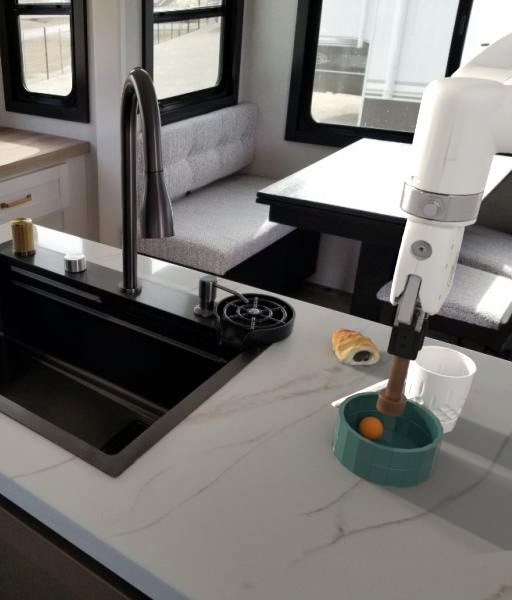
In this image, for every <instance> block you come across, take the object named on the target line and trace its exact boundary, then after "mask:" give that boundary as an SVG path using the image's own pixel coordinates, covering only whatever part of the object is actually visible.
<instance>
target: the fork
mask: <svg viewBox="0 0 512 600" xmlns="http://www.w3.org/2000/svg"><path fill="white" fill-rule="evenodd" d="M408 369H409V367H408ZM407 373H408V371H407ZM388 380H389V378H387V379H384V380H382V381H379V382H377V383H375V384H372V385H370V386H368V387H365V388H363V389H361V390H358V391H356V392H354V393H352V394H349V395H347V396H344V397H342V398H339V399H337V400H335V401H333V402H331V406H333V408H337V407H340V404H341V403H342V402H343V401H344V400H345V399H346V398H347V397H349V396H352V395H354V394H357V393H362V392H379V391H381V390H383V389H387V384H388ZM406 380H407V378H406V379H405V383H404V384H406Z"/></svg>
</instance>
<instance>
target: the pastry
mask: <svg viewBox="0 0 512 600" xmlns="http://www.w3.org/2000/svg"><path fill="white" fill-rule="evenodd" d="M331 343H332V350H333V352H334V354H335V356H336V357H337V358H338V360H339V361H340V363H341V364H343V365H350V366H354V365H366V366H369V365H370V366H372V365H376V363H378V362H379V360H380V358H381V355H380V353H379V349H378V347H377V346H376V345H375V343H374V342H373V341H372V339H371V337H368V336H364V335H363V334H362V333H361V332H359V331H356V330H354V329H347V328H339V329H337V330H335V331H333V333H332V339H331Z"/></svg>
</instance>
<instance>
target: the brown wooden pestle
mask: <svg viewBox="0 0 512 600" xmlns="http://www.w3.org/2000/svg"><path fill="white" fill-rule="evenodd" d="M418 313H419V312H415V311H414V312H413V314H417V317H418ZM409 364H410V360H408V359H405V358H401V357H398V356H394V355H393V358H392V363H391V368H390V371H389V375H388V379H389V380H388V384H387V387H386V388H383V389H381V390H379V391H378V392H379V396H378V400H377V405H376V407H377V409H378V411H379V412H381V413H382V414H384V415H387V416H391V417H398V416H401V415H402V414H403V413H404V410H405V406H406V402H407V397H406V396H405V395H404V392H403V391H404V387H405V384H406V383H405V379H407V375H408V372H407V371H408V368H409Z"/></svg>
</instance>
